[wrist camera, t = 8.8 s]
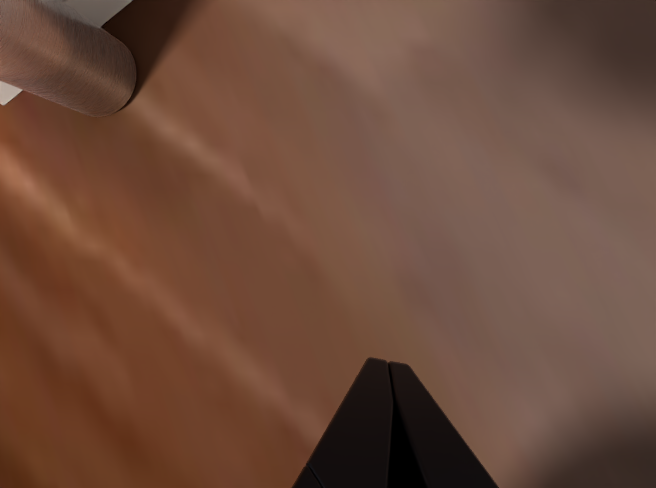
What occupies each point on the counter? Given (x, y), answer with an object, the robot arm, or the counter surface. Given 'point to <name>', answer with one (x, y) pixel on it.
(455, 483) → the robot arm
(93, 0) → the block
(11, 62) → the silver jar
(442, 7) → the counter surface
